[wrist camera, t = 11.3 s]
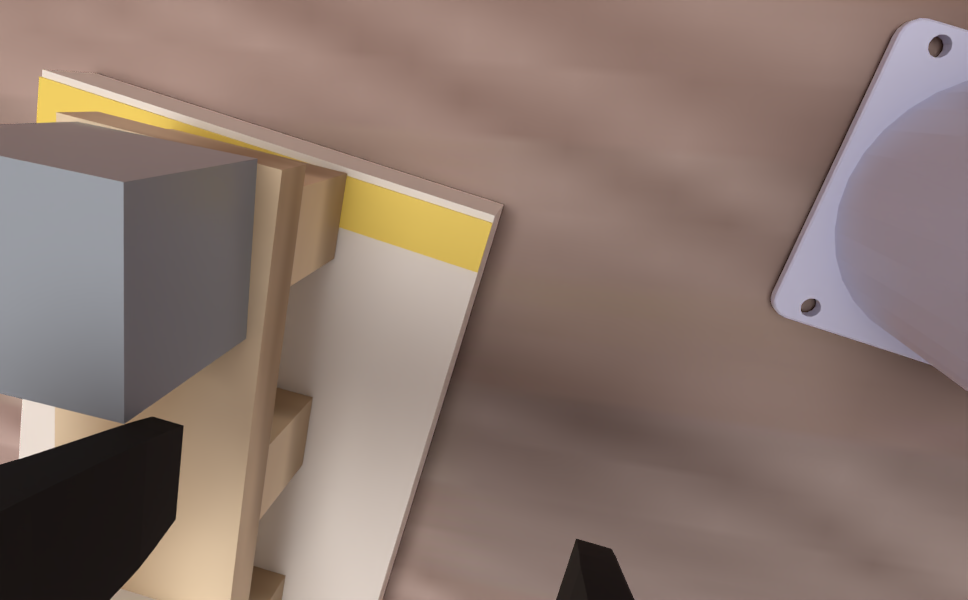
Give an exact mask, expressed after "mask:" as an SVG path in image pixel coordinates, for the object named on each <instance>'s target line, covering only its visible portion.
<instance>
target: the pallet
mask: <svg viewBox="0 0 968 600" xmlns="http://www.w3.org/2000/svg"><path fill="white" fill-rule="evenodd" d="M76 121H77V122H81V123H86V124H91V125H96V126H101V127H106V128H111V129H116V130H120V131H125V132H130V133H135V134H140V135H145V136H150V137H154V138H159V139H164V140H169V141H174V142H179V143H184V144H189V145H193V146H198V147H203V148H208V149H213V150H218V151H223V152H228V153H232V154H237V155H242V156H247V157H252V158H257V175H256V191H255V207H254V223H253V238H252V254H251V270H250V286H249V302H248V318H247V333H246V339H245V340H243V341H242V342H240V343H239V344H238V345H236V346H235V347H233V348H232V349H231V350H229V351H228V352H226V353H225V354H223V355H222V356H221V357H219V358H218V359H216V360H215V361H213V362H212V363H211V364H209V365H208V366H206V367H205V368H203V369H202V370H201V371H199V372H198V373H196V374H195V375H193V376H192V377H191V378H189V379H188V380H186V381H185V382H184V383H182V384H181V385H179V386H178V387H176V388H175V389H174V390H172V391H171V392H169V393H168V394H166V395H165V396H164V397H162V398H161V399H159V400H158V401H156V402H155V403H154V404H152V405H151V406H149V407H148V408H147V409H145V410H144V411H142V412H141V413H139V414H138V415H137V416H135V417H134V418H132V419H131V420H129V421H128V422H127V423H130V422H134V421H137V420H141V419H145V418H148V417H152V416H153V417H156V418H159V419H163V420H166V421H170V422H173V423H177V424H180V425H184V429H183V441H182V453H181V464H180V476H179V488H178V500H177V512H176V520H175V521H174V523H173V524H172V525H171V527H170V528H169V529H168V531H167V532H166V534H165V535H164V536H163V538H162V539H161V541H160V542H159V543H158V545H157V546H156V547H155V549H154V550H153V551H152V553H151V554H150V555H149V556H148V558H147V559H146V560H145V562H144V563H143V564H142V565H141V567H140V568H139V569H138V570H137V571H136V572H135V574H134V575H133V576H132V577H131V578H130V579H129V580H128V581H127V582H126V583H125V584H124V585H123V586H122V587H121V588H120V589H123V590H127V591H130V592H133V593H137V594H140V595H143V596H147V597H150V598H153V599H156V600H282V595H283V588H284V582H285V575H282V574H279V573H276V572H272V571H269V570H266V569H262V568H259V567H256V566H253V565H254V557H255V549H256V542H257V534H258V527H259V520H260V519H261V518H262V516H263V515H264V514H265V513H266V511H267V510H268V509H269V507H270V506H271V505H272V504H273V502H274V501H275V500H276V498H277V497H278V496H279V494H280V493H281V492H282V491H283V489H284V488H285V487H286V485H287V484H288V483H289V482H290V480H291V479H292V478H293V476H294V475H295V474H296V472H297V471H298V470H299V469H300V467H301V466H302V465H303V458H304V452H305V445H306V439H307V432H308V426H309V419H310V413H311V406H312V400H313V397H310V396H306V395H303V394H299V393H295V392H292V391H288V390H285V389H281V388H278V387H277V383H278V375H279V368H280V360H281V353H282V345H283V337H284V330H285V322H286V315H287V307H288V299H289V292H290V286H292V285H293V284H295V283H296V282H298V281H300V280H301V279H303V278H304V277H306V276H308V275H309V274H311V273H312V272H314V271H315V270H317V269H319V268H320V267H322V266H323V265H325V264H327V263H328V262H330V261H331V260H333V259H334V256H335V250H336V243H337V237H338V230H339V224H340V217H341V211H342V204H343V198H344V191H345V185H346V178H347V173H344V172H340V171H336V170H332V169H328V168H324V167H320V166H317V165H313V164H309V163H305V162H301V161H297V160H293V159H289V158H285V157H281V156H277V155H273V154H269V153H265V152H261V151H257V150H253V149H250V148H246V147H242V146H238V145H234V144H230V143H226V142H222V141H218V140H214V139H210V138H206V137H202V136H198V135H194V134H190V133H186V132H183V131H179V130H175V129H165V128H161V127H157V126H153V125H149V124H145V123H141V122H137V121H133V120H129V119H125V118H121V117H117V116H113V115H109V114H106V113H102V112H98V111H97V112H56V122H76ZM127 423H125V424H127ZM121 425H124V424H122V423H118V422H114V421H110V420H106V419H102V418H98V417H94V416H90V415H85V414H81V413H77V412H73V411H69V410H65V409H61V408H57V407H55V447H58V446H61V445H64V444H67V443H70V442H73V441H76V440H79V439H82V438H85V437H88V436H91V435H94V434H97V433H100V432H103V431H106V430H109V429H112V428H115V427H118V426H121Z"/></svg>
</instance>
